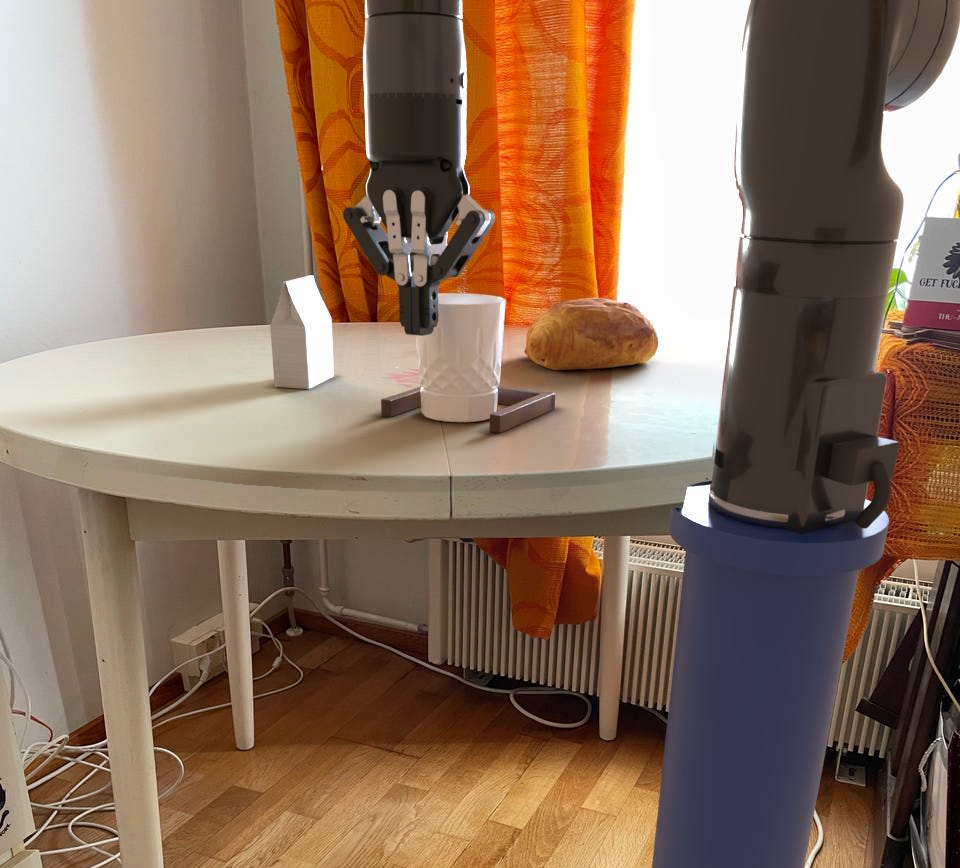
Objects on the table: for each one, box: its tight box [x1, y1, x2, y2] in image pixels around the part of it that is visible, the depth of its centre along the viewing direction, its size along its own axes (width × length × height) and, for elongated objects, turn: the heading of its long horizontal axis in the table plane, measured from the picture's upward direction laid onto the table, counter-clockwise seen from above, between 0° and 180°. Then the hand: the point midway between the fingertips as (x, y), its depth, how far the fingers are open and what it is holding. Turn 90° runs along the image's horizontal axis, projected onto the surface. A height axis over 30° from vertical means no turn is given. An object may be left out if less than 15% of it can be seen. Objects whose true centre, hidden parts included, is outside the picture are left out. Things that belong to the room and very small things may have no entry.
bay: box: [380, 385, 556, 434], centre depth 93 cm, size 11×12×2 cm
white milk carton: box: [269, 274, 335, 390], centre depth 103 cm, size 4×7×10 cm, turn 166°
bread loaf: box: [523, 297, 659, 371], centre depth 116 cm, size 14×16×8 cm
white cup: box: [415, 292, 507, 423], centre depth 90 cm, size 8×8×10 cm
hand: (419, 333), depth 83 cm, fingers closed
